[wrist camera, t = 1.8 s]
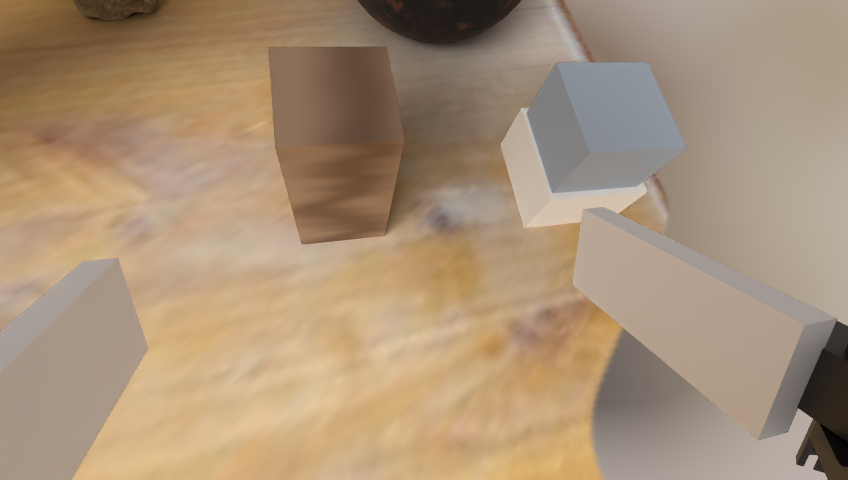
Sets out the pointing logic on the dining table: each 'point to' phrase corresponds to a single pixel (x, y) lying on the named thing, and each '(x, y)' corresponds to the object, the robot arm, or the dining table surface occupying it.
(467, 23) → the dark brown bulbous vessel
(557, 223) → the tower base block
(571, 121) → the tower top block
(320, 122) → the walnut block
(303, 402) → the dining table surface
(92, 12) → the stone block
